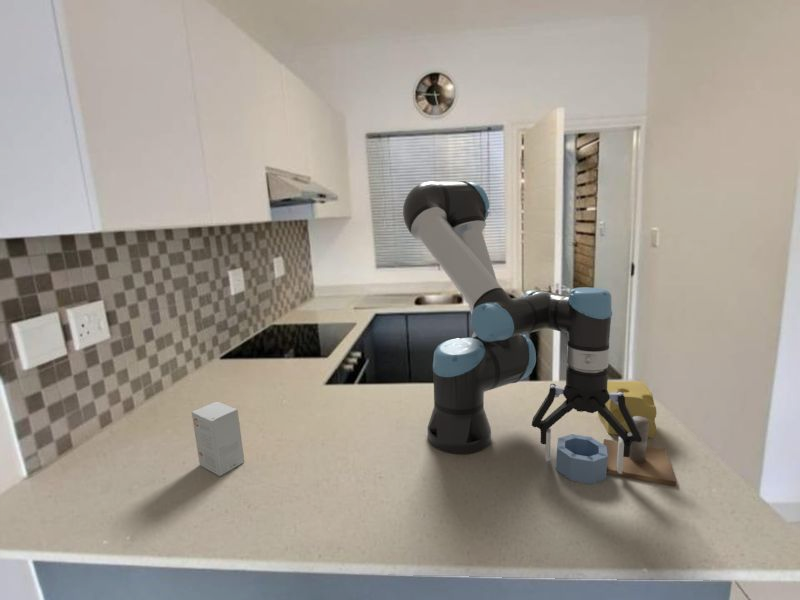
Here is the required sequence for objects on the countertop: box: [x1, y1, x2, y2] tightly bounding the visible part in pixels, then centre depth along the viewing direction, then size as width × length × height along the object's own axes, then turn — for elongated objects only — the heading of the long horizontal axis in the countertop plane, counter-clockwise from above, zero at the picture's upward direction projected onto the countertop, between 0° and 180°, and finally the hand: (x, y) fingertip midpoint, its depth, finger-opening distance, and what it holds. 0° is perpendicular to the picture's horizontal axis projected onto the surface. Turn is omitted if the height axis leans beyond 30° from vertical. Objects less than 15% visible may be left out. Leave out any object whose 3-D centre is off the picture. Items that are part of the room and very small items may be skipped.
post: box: [603, 416, 677, 487], centre depth 88 cm, size 12×12×10 cm
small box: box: [191, 401, 245, 477], centre depth 93 cm, size 8×6×13 cm
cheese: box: [597, 380, 657, 439], centre depth 103 cm, size 10×11×10 cm
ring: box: [555, 433, 608, 485], centre depth 87 cm, size 9×9×5 cm
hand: (582, 463), depth 87 cm, fingers open, 13 cm apart
